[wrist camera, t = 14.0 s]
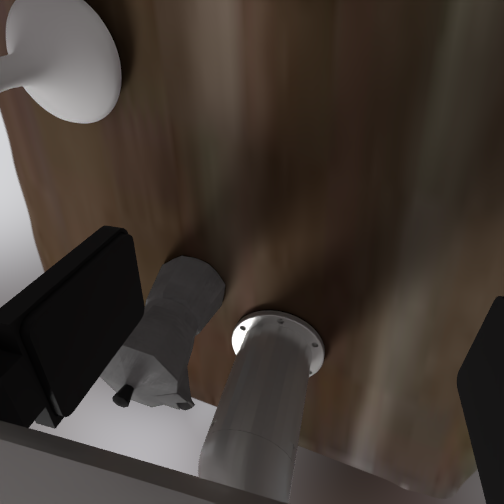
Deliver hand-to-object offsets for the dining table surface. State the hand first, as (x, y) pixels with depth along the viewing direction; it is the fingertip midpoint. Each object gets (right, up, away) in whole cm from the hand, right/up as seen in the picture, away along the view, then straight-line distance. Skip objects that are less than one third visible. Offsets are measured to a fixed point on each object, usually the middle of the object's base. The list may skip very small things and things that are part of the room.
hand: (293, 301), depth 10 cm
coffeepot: (-10, -2, +39) cm, 40 cm away
